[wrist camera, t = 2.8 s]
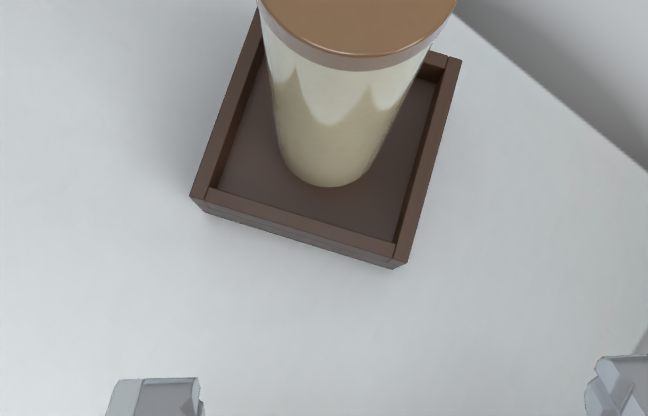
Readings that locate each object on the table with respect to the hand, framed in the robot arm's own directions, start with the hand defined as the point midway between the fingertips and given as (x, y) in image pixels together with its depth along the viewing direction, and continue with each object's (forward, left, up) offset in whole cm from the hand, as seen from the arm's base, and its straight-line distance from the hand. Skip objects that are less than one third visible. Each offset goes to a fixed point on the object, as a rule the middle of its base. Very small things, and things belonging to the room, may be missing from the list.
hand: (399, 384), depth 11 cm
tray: (+4, -10, -20) cm, 23 cm away
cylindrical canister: (+4, -10, -18) cm, 21 cm away
